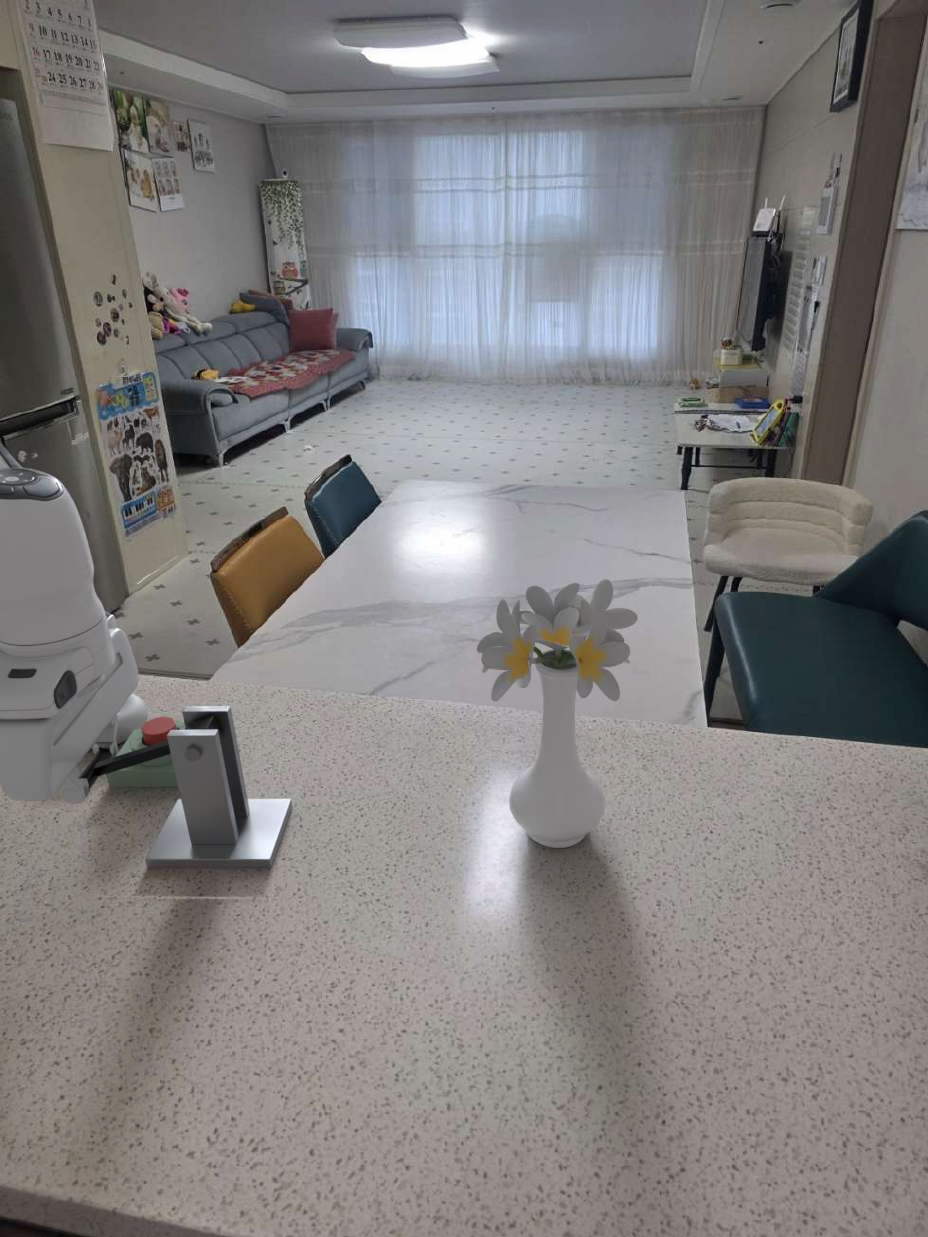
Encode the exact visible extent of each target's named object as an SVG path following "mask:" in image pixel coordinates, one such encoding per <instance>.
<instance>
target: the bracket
mask: <svg viewBox="0 0 928 1237" xmlns="http://www.w3.org/2000/svg"><path fill="white" fill-rule="evenodd" d="M181 713H182V719H183V722H184V723H185V728H186V726H187V724H190V723H193V722H196V721H199V720H202V719H206V718H209V717H212V716H214V718H215V720H216V721H217V723H218V725H219V726H220V728H221V730H222V731H223V733H224V735H225V737H224V739H223V741H222V743H220V738H219V733H218V730H170V732H169V733H168V735H167V739H168V744H169V748H170V752H171V757H172V761H173V766H174V770H175V774H176V779H177V783H178V787H177V788H178V791H179V796H180V798H177V800H176V802H175V803H174V805H173V807H172V808H171V811H170V812H169V814H168V816H167V818H166V820H165V822H164V824H163V825H162V826H161V829H160V831H159V832H158V834H157V837H156V838H155V839H154V842H153V844H152V846H151V847H150V849H149V851H148V853H147V855H146V856H145V859H144V861H145V866H146V869H149V870H150V869H152V870H153V869H155V870H156V869H157V870H158V869H159V870H160V869H163V870H165V869H169V870H172V869H173V870H175V869H176V870H177V869H179V870H181V869H182V870H183V869H184V870H185V869H186V870H187V869H191V870H192V869H194V870H195V869H198V870H200V869H203V870H204V869H205V870H207V869H209V870H210V869H211V870H215V869H216V870H218V869H220V870H222V869H227V870H228V869H229V870H234V869H235V870H237V869H239V870H240V869H241V870H243V869H244V870H246V869H248V870H249V869H250V870H251V869H252V870H255V869H256V870H259V869H262V870H265V869H267V870H270V869H272V868H273V866H274V863H275V861H276V857H277V854H278V851H279V848H280V846H281V843H282V839H283V838H284V834H285V831H286V828H287V825H288V822H289V819H290V816H291V813H292V810H293V808H294V807H293V801H292V798H248V794H247V789H246V782H245V778H244V772H243V767H242V763H241V761H242V760H241V757H240V756H241V755H240V750H239V745H238V739H237V734H236V729H235V723H234V717H233V712H232V706H231V705H198V706H197V705H195V706H194V705H192V706H191V705H187V706H184V708H183V709H182V711H181Z"/></svg>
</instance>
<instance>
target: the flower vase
mask: <svg viewBox="0 0 928 1237" xmlns="http://www.w3.org/2000/svg"><path fill="white" fill-rule="evenodd" d="M580 587H581V585H580V583H579V582H572V583H570V584H567V585H566V586H564V587H563V588H561V590H559V592H558V593H557V594H556V596H555V597H554V599H553V600H554V601H553V600H552V598H551V596H550V594H549V593H548V591H547V590H546V589H544V588H543V587H541V586H538V585H530V586H529V587H527V589H526V591H525V599H526V602H527V604H528V605H529V607H530V608H531V610H532V611H530V610H521V600H520V599H517V600H516V601H515V603H514V605H513V607H512V611H511V610H510V608H509V605H508V602H507V601H506V600H505V599H504V598H502V599H500V601H499V602H498V604H497V608H496V615H495V618H496V624H497V627H498V629H499V630H500V631H501V632H500V631H492V632H490V633H488V634H486V635H485V636H483V637H482V639H480V640H479V642H478V644H477V646H476V652H477V653H478V654H481V659H480V661H481V664H482V665H483V668H482V671H481V673H482V674H486V672H488V671H489V670H493V671H494V670H495V671H504V672H501V673H500V674H499V675H498V676H497V678H496V679H495V681H494V683H493V686H492V689H491V696H490V697H491V698H490V699H491V701H492V702H494V703H495V702H498V701H500V699H502V698H503V696H505V695H506V693H507V691H508V690H510V688H511V687H512V686H513V685H514V684H515V683H516V684H517V686H518V687H520V688H521V689H526V688H527V687H528V686H529V685H530V683H531V680H532V665H534V666H535V669H536V671H537V673H538V674H539V679H540V686H541V692H542V693H541V694H542V719H541V721H542V723H541V734H540V735H541V736H540V746H539V750H538V753H537V756H536V758H535V760H534V762H533V764H531V765H530V766H529V767H527V768H526V769H524V770H523V771H522V772H521V773H520V774H519V775H518V777H517V778H516V779H515V781H513V784H512V787H511V789H510V794H509V796H508V803H509V804H508V805H509V810H510V813H511V815H512V816H513V819H514V820H515V822H516V823H517V824H518V825H519V827H521V828H522V829H523V830H524V831H525V832H526V834H527V835H528V837H529V838H531V840H533V842H535V843H537V844H539V845H541V846H544V847H546V848H552V849H565V848H569V847H573V846H575V845H578V844H579V843H580V842H581V841H583V840H584V838H585V837H586V835H588V834H589V833H590V832H591V831H593V830H594V829H595V828H596V827H597V826H598V825H599V824H600V822H601V820H602V819H603V817H604V815H605V809H606V798H605V794H604V791H603V788H602V785H601V784H600V783H599V781H598V780H597V779H596V777H595V776H594V775H593V773H592V772H590V771H589V770H588V769H587V768H585V767H584V766H583V765H582V763H581V760H580V758H579V755H578V750H577V741H576V739H577V738H576V701H577V700H576V699H577V694H578V696H579V697H580V698H581V699H586V698H588V697H589V695H590V694H591V693H592V690H593V687H594V684H595V685H596V686H597V687H598V688H599V690H600V691H601V692H602V693H603V695H604V696H605V697H606V698H608V700H610V701H613V702H617V701H618V700H620V697H621V691H620V690H621V689H620V686H619V683H618V681H617V679H616V677H615V676H614V674H613V673H612V672H611V671H610V670H608V669H606V668H613V667H618V666H619V665H621V664H623V663H626V664H631V663H630V660H629V657H630V655H631V648H630V646H629V644H627V643H626V642H625V637H623V635H622V634H621V633H620V632H619V631H617V630H622V629H627V628H630V627H631V626H633V625H635V624H636V623H637V621H638V620H639V619H638V614H637V612H635V611H634V610H632V609H629V608H625V607H612V608H609V607H610V606H611V604H612V600H613V597H614V588H613V583H612V581H610V579H606V578H605V579H602V580H600V581H599V582H598V583H597V585H596V586H595V587H594V589H593V592H592V594H591V597H590V599H589V602H588V600H587V599H586V598H585V597H583V595H581V594H578V592H579V591H580ZM521 625H528V627H527V628H525V630H524V631H523V632H521ZM536 643H537V644H540V645H543V646H546V647H548V648H550V649H549V650H545V651H543V652H542V650H541V649H540V648H538V647H537V646H536ZM534 653H535V654H536V655H537V657H534Z"/></svg>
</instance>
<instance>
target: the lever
mask: <svg viewBox="0 0 928 1237" xmlns="http://www.w3.org/2000/svg"><path fill="white" fill-rule="evenodd" d="M184 730H218V733H219V738H220V743H222V741H223V739H224V737H225V735H224V733H223V731H222V730H221V728H220V726H219V725H218V723H217V721H216V720H215V718H214V716H212V717H209V718H206V719H202V720H199V721H196V722H193V723H190V724H187V726H186V728H185V729H184ZM169 754H171V752H170V748H169V744H168V740H167V741H164V742H160V743H157V744H154V745H151V746H148V747H145V748H141V749H138V750H135V751H132V752H129V753H126V754H122V755H119V756H115V757H113V758H111V755H110V753H109V752H108V751H106V750H100V751H98V752H97V753H96V755H95V754H94V756H93V758H92V759H91V760H90V762H89V763H88V764H87V766H86V767H85V768H84V769H83V770H82V772H81V774H80V775H79V776H78V778H79V779H80V778H81V779H87V780H88V783H89V788H90V789H91V788H92V787H93V785H94V784H95V782H96V781H97V780H98V778H99V777H101V776H104V775H106V774H108V773H111V772H115V771H118V770H121V769H124V768H127V767H131V766H134V765H137V764H140V763H144V762H147V761H150V760H153V759H156V758H160V757H163V756H166V755H169Z"/></svg>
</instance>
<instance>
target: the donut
mask: <svg viewBox="0 0 928 1237" xmlns="http://www.w3.org/2000/svg"><path fill="white" fill-rule="evenodd" d="M117 716H118V725H117V736H116V742H117V745H121V744H122V743H125V742H126V741H127V739H128V738H129V737H130V735H131V734H132V732H133V731H134V730H139V729H141V728H142V726H143V725H144V724H145V723H146V722H148V716H149V710H148V707H147V705H146V703H145V701H144V700H143V699H142V698H141V697H140V696H138V695H137V694H135V693H132V694H131V695H130V697H129V698H128V699H127V701H126V702H125V703H124V705H123V706H122V707H121V709H120V710H119V711H118V713H117ZM95 743H96V742H95ZM95 743H94V744H95ZM94 744H93V745H94ZM92 747H93V746H92ZM92 747H91V748H90V750H93V749H92Z"/></svg>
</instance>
